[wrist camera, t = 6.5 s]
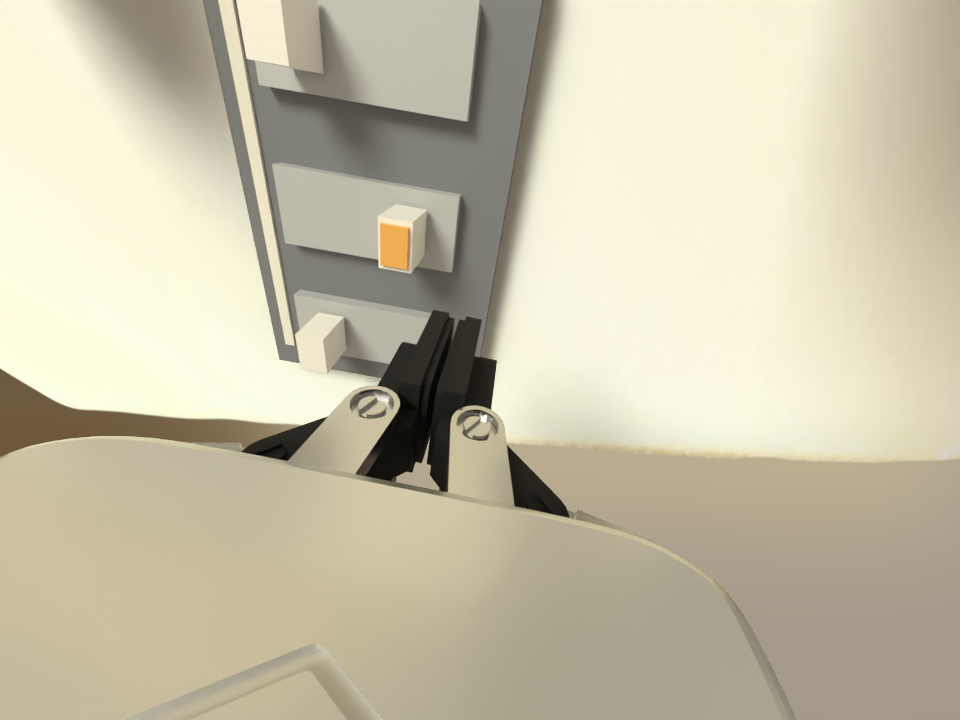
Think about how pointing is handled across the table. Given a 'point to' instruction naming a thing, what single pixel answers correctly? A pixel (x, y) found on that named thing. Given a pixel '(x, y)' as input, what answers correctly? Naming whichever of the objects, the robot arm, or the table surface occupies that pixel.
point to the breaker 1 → (282, 33)
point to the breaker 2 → (321, 342)
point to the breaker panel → (379, 161)
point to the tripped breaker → (401, 238)
